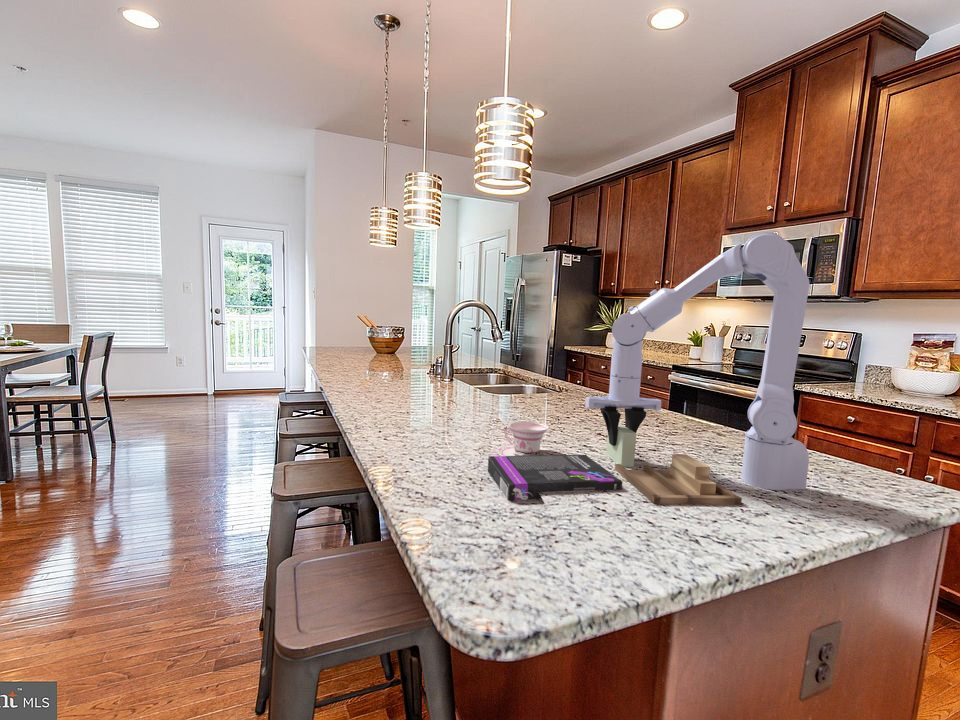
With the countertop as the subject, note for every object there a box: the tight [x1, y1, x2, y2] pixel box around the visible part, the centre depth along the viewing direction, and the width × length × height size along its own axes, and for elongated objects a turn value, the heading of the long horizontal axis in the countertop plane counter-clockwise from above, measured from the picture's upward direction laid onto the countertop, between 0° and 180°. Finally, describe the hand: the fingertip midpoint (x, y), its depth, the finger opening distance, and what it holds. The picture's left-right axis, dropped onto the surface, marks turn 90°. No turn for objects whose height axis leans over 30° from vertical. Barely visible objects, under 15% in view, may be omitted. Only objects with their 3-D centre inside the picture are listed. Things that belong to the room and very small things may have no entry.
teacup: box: [496, 421, 550, 456], centre depth 98 cm, size 12×12×6 cm
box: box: [487, 454, 623, 501], centre depth 82 cm, size 14×4×20 cm
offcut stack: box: [669, 453, 717, 496], centre depth 81 cm, size 3×10×4 cm, turn 5°
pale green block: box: [606, 423, 637, 468], centre depth 94 cm, size 2×8×7 cm, turn 5°
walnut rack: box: [614, 463, 743, 506], centre depth 81 cm, size 14×16×2 cm
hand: (620, 444), depth 94 cm, fingers closed on pale green block, 2 cm apart
